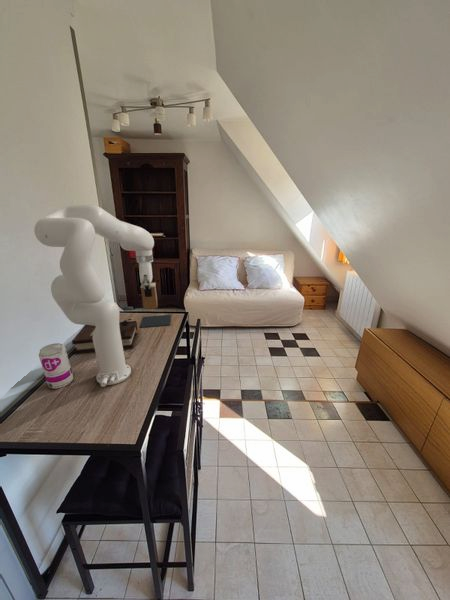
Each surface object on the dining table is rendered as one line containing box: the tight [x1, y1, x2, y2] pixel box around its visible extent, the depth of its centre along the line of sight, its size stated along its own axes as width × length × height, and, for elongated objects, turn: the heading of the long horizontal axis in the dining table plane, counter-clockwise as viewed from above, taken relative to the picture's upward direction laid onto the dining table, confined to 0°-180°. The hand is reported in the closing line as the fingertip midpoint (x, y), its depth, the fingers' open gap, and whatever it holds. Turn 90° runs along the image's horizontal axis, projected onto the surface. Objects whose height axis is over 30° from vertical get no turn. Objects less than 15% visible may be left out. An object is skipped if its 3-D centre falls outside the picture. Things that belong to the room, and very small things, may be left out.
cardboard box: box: [139, 282, 159, 310], centre depth 125 cm, size 5×7×12 cm
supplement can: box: [38, 342, 74, 390], centre depth 92 cm, size 8×8×15 cm
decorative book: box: [71, 318, 142, 355], centre depth 122 cm, size 19×8×30 cm
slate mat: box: [139, 314, 171, 329], centre depth 146 cm, size 14×16×1 cm
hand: (149, 294), depth 125 cm, fingers closed on cardboard box, 5 cm apart
